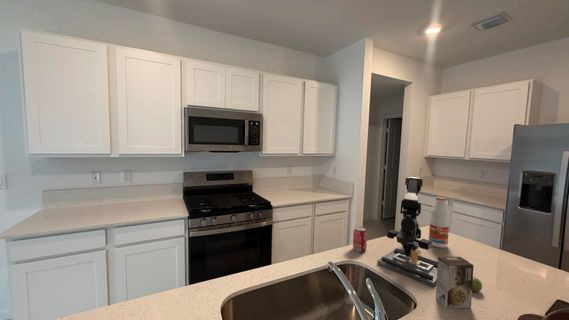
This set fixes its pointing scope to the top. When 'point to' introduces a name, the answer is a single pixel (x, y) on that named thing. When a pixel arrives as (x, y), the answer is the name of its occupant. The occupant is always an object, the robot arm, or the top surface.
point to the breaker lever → (414, 258)
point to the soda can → (359, 239)
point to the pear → (476, 285)
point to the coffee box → (454, 282)
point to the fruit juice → (439, 223)
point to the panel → (405, 261)
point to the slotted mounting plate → (410, 267)
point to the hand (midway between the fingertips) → (407, 256)
